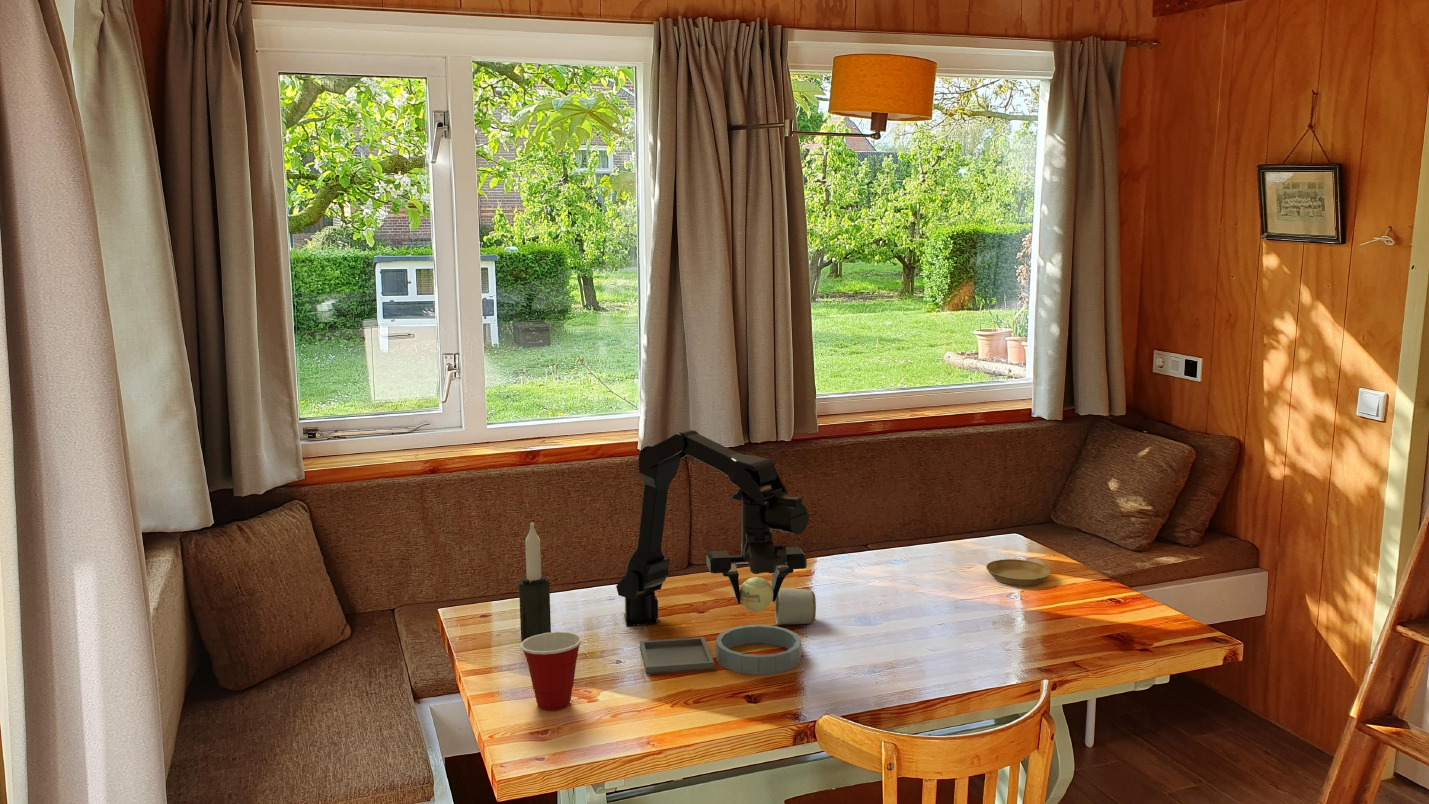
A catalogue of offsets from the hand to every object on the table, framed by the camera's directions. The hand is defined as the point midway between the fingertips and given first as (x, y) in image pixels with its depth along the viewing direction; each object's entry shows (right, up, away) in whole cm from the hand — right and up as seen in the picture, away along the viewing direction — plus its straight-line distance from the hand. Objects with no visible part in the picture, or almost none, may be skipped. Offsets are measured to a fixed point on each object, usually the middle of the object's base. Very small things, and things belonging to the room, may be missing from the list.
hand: (756, 602), depth 213 cm
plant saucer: (+64, -3, +48) cm, 80 cm away
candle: (-44, -10, +11) cm, 47 cm away
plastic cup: (-37, -15, -18) cm, 44 cm away
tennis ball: (0, -1, 0) cm, 1 cm away
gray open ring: (+1, -11, +2) cm, 11 cm away
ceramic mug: (+9, -8, +21) cm, 24 cm away
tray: (-16, -11, +1) cm, 19 cm away
